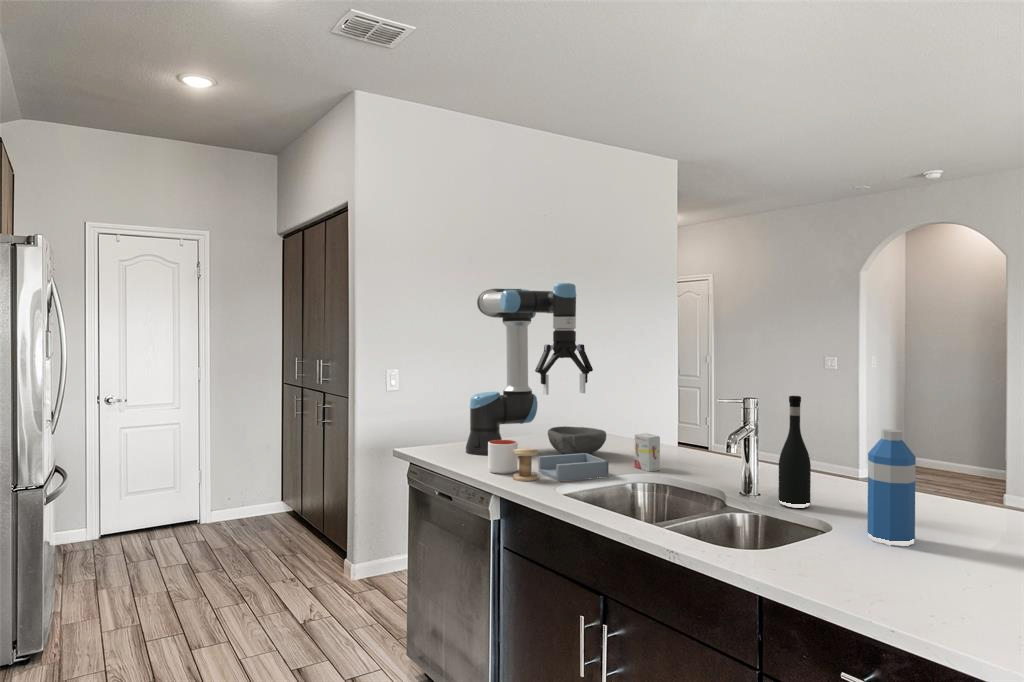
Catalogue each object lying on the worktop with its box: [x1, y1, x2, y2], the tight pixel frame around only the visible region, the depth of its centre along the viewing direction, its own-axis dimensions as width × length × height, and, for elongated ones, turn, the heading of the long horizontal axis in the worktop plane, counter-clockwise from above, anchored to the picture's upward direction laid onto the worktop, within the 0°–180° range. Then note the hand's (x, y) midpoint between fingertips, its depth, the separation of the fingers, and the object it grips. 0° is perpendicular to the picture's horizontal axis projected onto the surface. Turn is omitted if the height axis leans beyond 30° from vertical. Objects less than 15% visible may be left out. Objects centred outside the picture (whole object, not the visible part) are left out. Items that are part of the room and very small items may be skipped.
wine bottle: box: [778, 395, 812, 504], centre depth 179 cm, size 8×8×30 cm
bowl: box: [547, 425, 607, 455], centre depth 253 cm, size 23×22×10 cm
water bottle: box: [867, 428, 917, 541], centre depth 149 cm, size 9×9×25 cm
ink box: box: [634, 432, 661, 473], centre depth 228 cm, size 9×5×12 cm, turn 25°
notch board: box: [537, 453, 610, 483], centre depth 218 cm, size 16×18×5 cm
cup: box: [487, 439, 519, 475], centre depth 223 cm, size 10×10×10 cm
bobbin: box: [512, 448, 539, 482], centre depth 212 cm, size 8×8×9 cm
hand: (564, 393), depth 219 cm, fingers open, 13 cm apart
